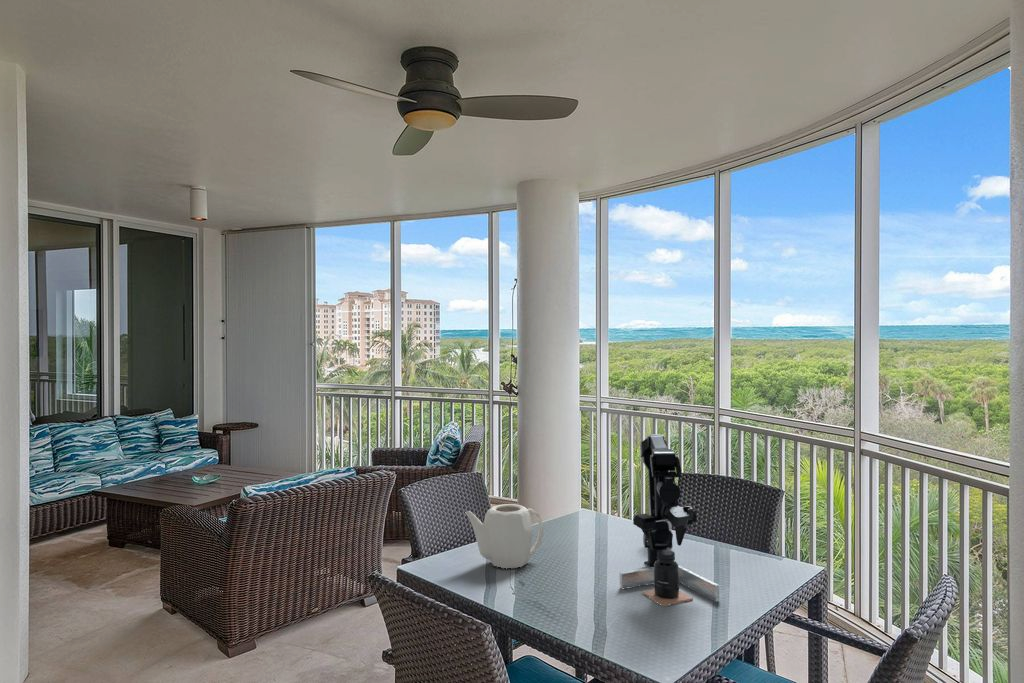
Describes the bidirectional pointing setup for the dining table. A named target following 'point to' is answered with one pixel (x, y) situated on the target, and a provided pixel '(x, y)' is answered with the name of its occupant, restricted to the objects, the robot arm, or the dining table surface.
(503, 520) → the white teapot
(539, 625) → the dining table surface
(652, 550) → the robot arm
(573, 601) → the dining table surface
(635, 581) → the corner walls
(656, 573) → the supplement bottle
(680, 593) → the terracotta tile
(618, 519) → the dining table surface
